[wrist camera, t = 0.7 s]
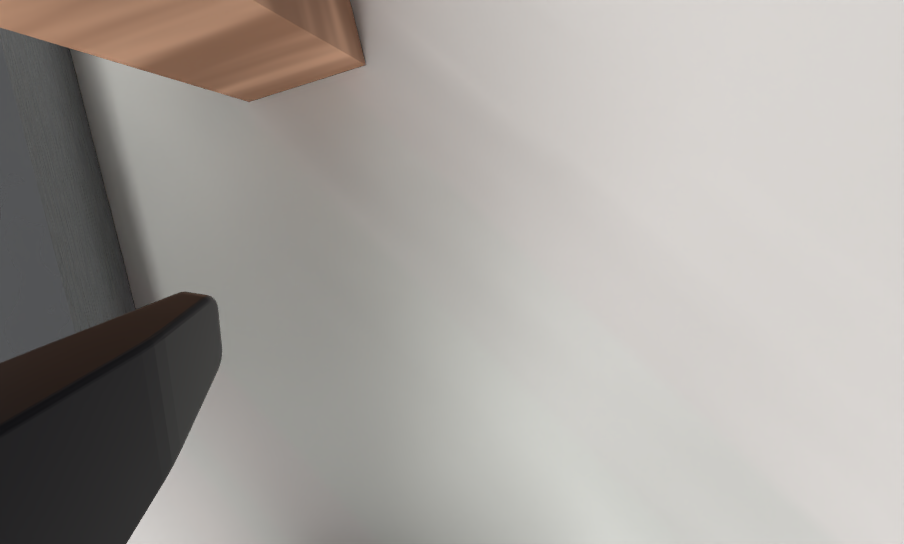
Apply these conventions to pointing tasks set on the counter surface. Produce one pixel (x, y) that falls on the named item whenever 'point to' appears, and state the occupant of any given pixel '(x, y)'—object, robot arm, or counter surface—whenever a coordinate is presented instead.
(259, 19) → the square peg
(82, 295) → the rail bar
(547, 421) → the counter surface
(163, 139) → the counter surface
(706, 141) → the counter surface
